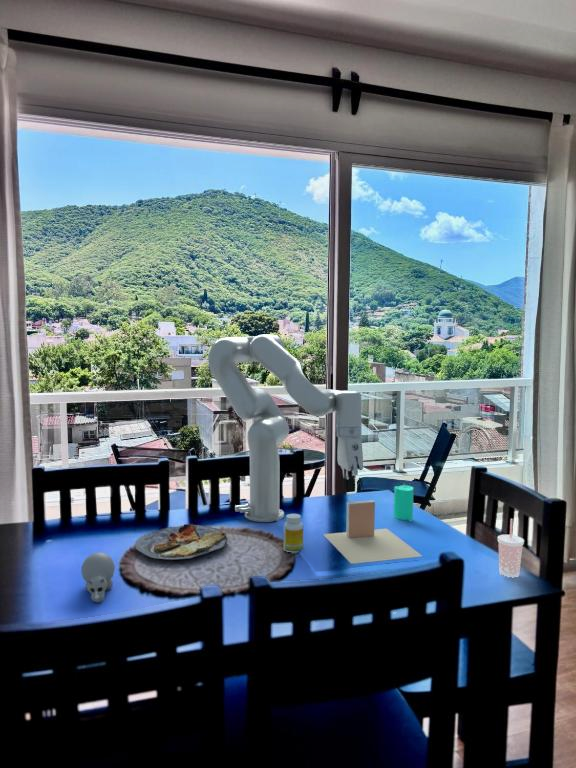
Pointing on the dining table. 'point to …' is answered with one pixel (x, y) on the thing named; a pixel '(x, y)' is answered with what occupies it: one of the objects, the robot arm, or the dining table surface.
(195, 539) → the food plate
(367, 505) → the tile
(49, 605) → the dining table surface
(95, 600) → the round bodied animal figurine
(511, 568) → the beverage cup
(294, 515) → the supplement bottle
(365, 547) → the cork mat
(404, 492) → the candle
